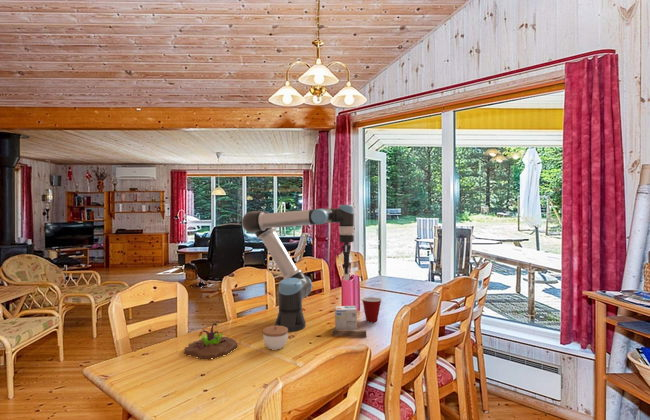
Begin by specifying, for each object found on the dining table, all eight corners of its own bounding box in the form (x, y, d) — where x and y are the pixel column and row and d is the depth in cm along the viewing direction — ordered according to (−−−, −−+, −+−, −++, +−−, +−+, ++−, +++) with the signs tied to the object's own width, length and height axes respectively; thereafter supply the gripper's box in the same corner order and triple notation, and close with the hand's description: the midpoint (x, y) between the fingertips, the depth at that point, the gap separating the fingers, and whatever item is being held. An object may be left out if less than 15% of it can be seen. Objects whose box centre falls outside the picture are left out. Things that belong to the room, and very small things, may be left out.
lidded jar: (264, 353, 149) (264, 331, 149) (261, 344, 159) (261, 323, 159) (290, 351, 152) (290, 328, 152) (285, 341, 162) (285, 320, 162)
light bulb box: (355, 326, 182) (355, 305, 182) (357, 331, 175) (357, 309, 175) (334, 326, 182) (334, 305, 181) (335, 331, 175) (335, 309, 175)
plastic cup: (381, 317, 196) (381, 295, 196) (382, 324, 185) (382, 301, 185) (361, 317, 197) (361, 295, 197) (361, 323, 186) (361, 300, 186)
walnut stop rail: (332, 335, 169) (332, 330, 169) (332, 334, 171) (332, 329, 171) (366, 337, 167) (366, 331, 167) (366, 335, 169) (366, 330, 169)
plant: (246, 347, 157) (245, 321, 157) (210, 364, 141) (210, 335, 140) (214, 338, 168) (213, 314, 168) (177, 353, 151) (177, 326, 151)
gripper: (353, 235, 179) (353, 282, 179) (354, 233, 196) (354, 275, 196) (338, 235, 179) (338, 282, 180) (340, 232, 197) (340, 275, 197)
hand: (346, 278), depth 188 cm, fingers open, 4 cm apart
